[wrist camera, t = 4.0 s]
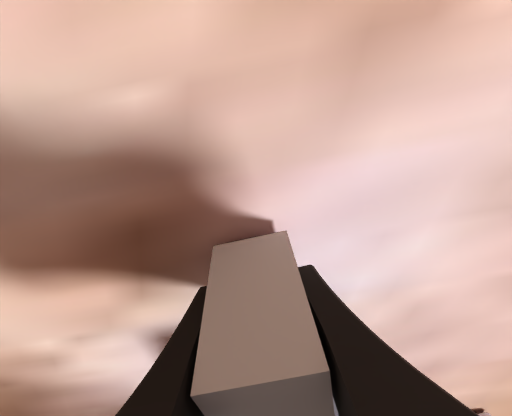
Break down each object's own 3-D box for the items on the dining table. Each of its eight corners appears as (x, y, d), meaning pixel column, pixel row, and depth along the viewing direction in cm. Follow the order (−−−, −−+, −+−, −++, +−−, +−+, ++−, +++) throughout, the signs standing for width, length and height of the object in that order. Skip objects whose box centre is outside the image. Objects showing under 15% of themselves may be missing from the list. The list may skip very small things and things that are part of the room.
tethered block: (321, 372, 16) (357, 502, 11) (256, 384, 16) (264, 516, 11) (300, 227, 10) (356, 366, 5) (199, 249, 10) (165, 401, 5)
